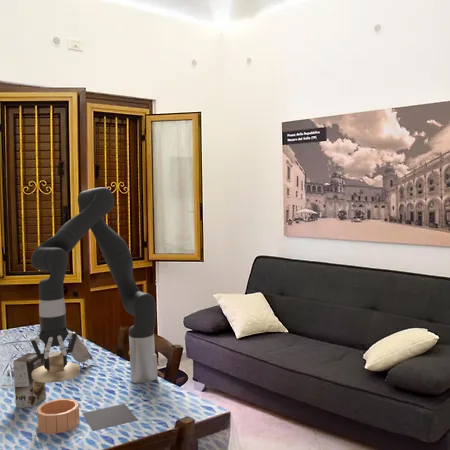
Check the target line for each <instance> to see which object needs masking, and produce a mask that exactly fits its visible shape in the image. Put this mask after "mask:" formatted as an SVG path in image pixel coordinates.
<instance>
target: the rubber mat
mask: <svg viewBox="0 0 450 450" xmlns="http://www.w3.org/2000/svg"><path fill="white" fill-rule="evenodd" d="M81 413H82V415H83V417H84V419H85V421H86V422H87V424H88V425H89V427H90V429H91V430H92V432H94V431H98V430H102V429H106V428H111V427H114V426H120V425H122V424H127V423H131V422H132V423H133V422H136V421H138V418H137V417H136V415H134V413H133V412H132V411H131V409H130V408H129V407H128V406H127V405H126V403H122V404H116V405H113V406H108V407H103V408H99V409H95V410H91V411H90V410H89V411H86V412H81Z"/></svg>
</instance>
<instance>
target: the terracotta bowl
mask: <svg viewBox="0 0 450 450" xmlns="http://www.w3.org/2000/svg"><path fill="white" fill-rule="evenodd" d="M80 420H81V419H80V404H79V402H78V401H77V400H74V399H72V398H57V399H54V400H48V401H47V402H44V403H41V404H40V405H39V406H38V407H37V408H36V421H37V429H38V431H39V432H42V433H44V434H60V433H65V432H68V431H71V430H73V429H75V428H76V427H77V426H78V425H79V423H80V422H81V421H80Z"/></svg>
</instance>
